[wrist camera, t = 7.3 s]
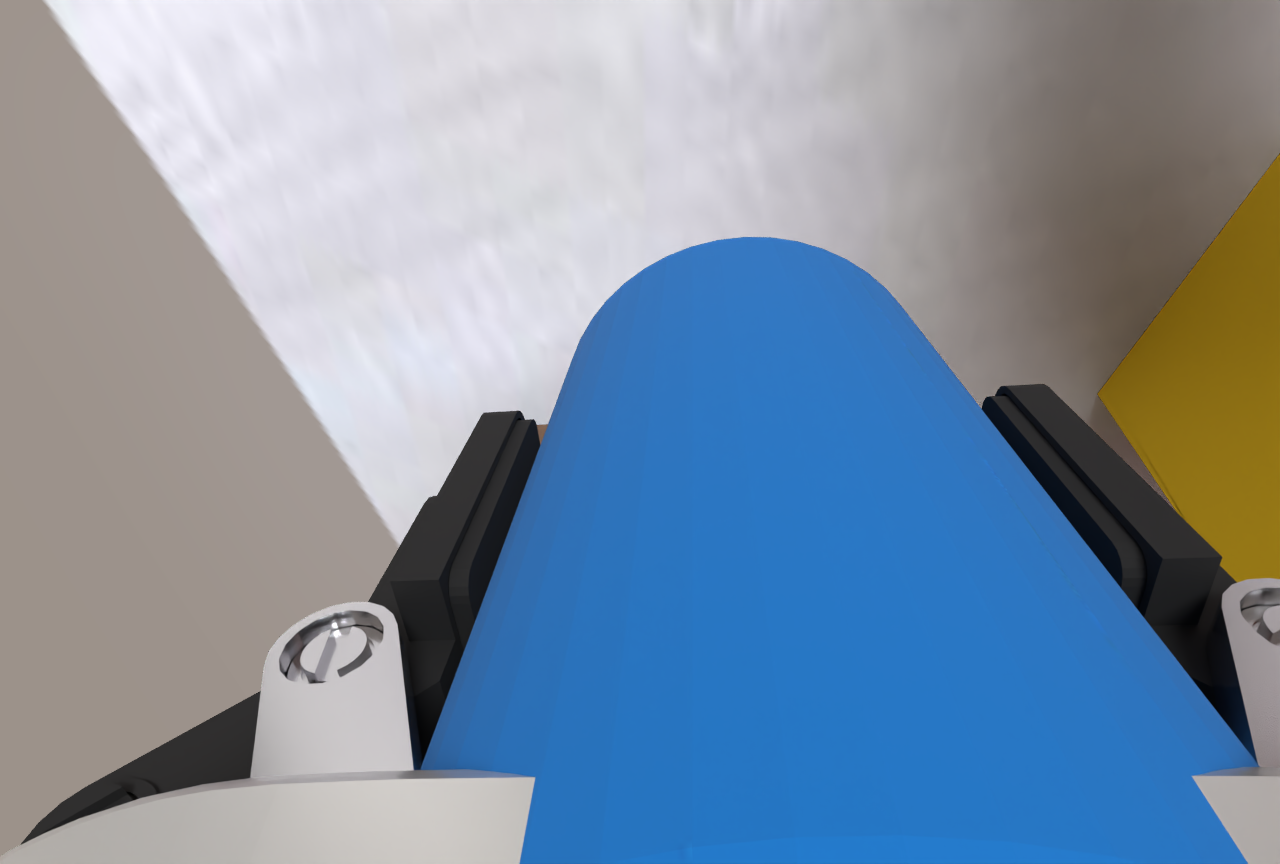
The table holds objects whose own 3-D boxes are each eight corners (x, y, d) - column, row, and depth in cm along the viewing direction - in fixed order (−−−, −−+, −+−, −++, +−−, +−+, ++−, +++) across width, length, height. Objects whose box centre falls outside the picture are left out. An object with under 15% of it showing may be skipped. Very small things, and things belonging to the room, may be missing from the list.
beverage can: (686, 580, 16) (676, 1631, 5) (503, 348, 14) (-145, 1417, 3) (972, 446, 14) (1835, 1703, 3) (816, 146, 12) (2075, 1247, 1)
